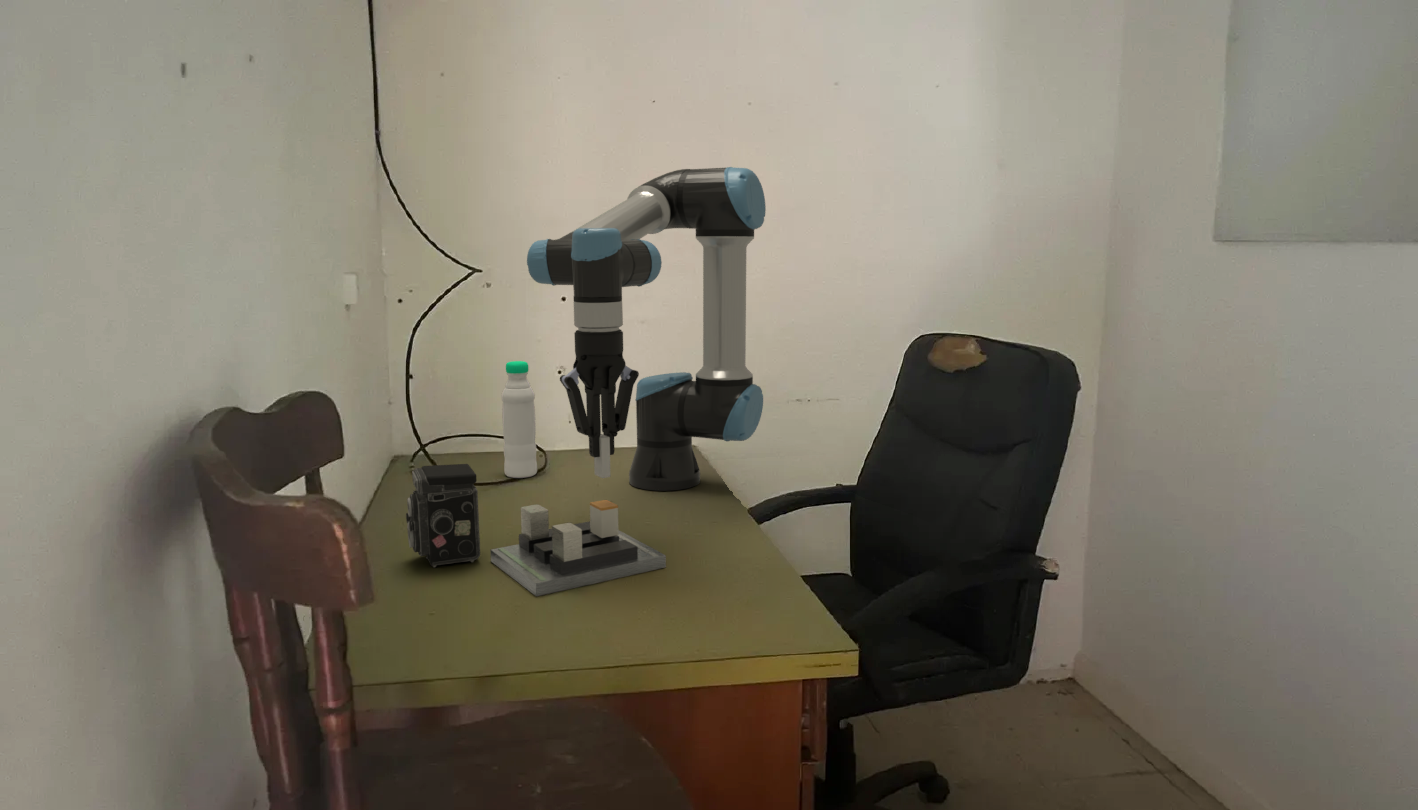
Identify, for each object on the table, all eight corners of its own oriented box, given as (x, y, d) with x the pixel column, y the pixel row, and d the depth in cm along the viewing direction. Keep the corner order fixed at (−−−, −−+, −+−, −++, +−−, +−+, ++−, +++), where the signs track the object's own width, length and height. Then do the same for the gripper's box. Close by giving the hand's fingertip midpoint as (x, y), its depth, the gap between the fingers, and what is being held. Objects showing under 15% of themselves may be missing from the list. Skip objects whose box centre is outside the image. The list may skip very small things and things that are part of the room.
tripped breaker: (606, 528, 154) (606, 499, 153) (618, 534, 151) (618, 505, 150) (590, 531, 152) (589, 502, 152) (601, 538, 149) (601, 508, 148)
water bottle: (521, 469, 211) (517, 358, 207) (544, 473, 207) (540, 361, 203) (497, 475, 205) (493, 362, 201) (520, 480, 201) (515, 364, 197)
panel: (612, 537, 163) (611, 490, 162) (665, 567, 148) (665, 515, 147) (490, 561, 151) (488, 510, 150) (536, 596, 136) (534, 540, 135)
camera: (406, 554, 154) (401, 465, 152) (471, 546, 159) (467, 459, 156) (413, 574, 145) (408, 480, 142) (482, 565, 149) (478, 474, 147)
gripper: (624, 324, 152) (627, 465, 157) (549, 329, 145) (555, 476, 150) (647, 328, 146) (649, 474, 151) (570, 333, 139) (575, 487, 144)
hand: (602, 475), depth 150 cm, fingers closed
